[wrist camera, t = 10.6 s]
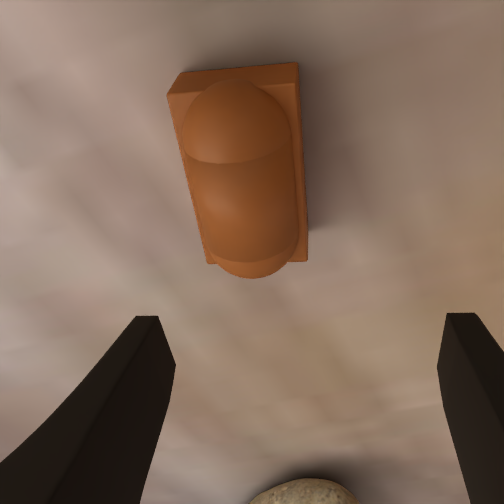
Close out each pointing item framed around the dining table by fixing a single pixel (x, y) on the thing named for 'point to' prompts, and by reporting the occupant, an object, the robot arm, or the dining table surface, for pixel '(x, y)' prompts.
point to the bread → (244, 164)
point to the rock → (306, 493)
